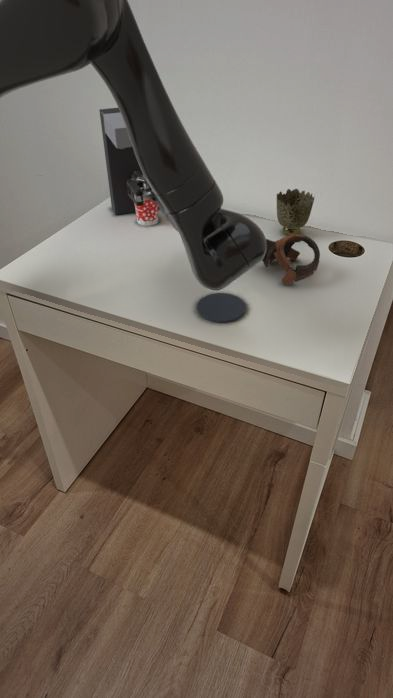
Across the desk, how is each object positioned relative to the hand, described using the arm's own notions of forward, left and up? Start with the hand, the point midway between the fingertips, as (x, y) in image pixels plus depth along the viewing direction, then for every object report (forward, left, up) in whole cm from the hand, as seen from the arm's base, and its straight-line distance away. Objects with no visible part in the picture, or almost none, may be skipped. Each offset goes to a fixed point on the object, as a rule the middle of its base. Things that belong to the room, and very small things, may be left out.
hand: (158, 172), depth 88 cm
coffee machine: (-7, +11, -14) cm, 20 cm away
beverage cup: (-6, +9, -14) cm, 18 cm away
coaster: (+16, -20, -14) cm, 29 cm away
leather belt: (+25, -6, -14) cm, 29 cm away
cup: (+25, +10, -14) cm, 31 cm away
